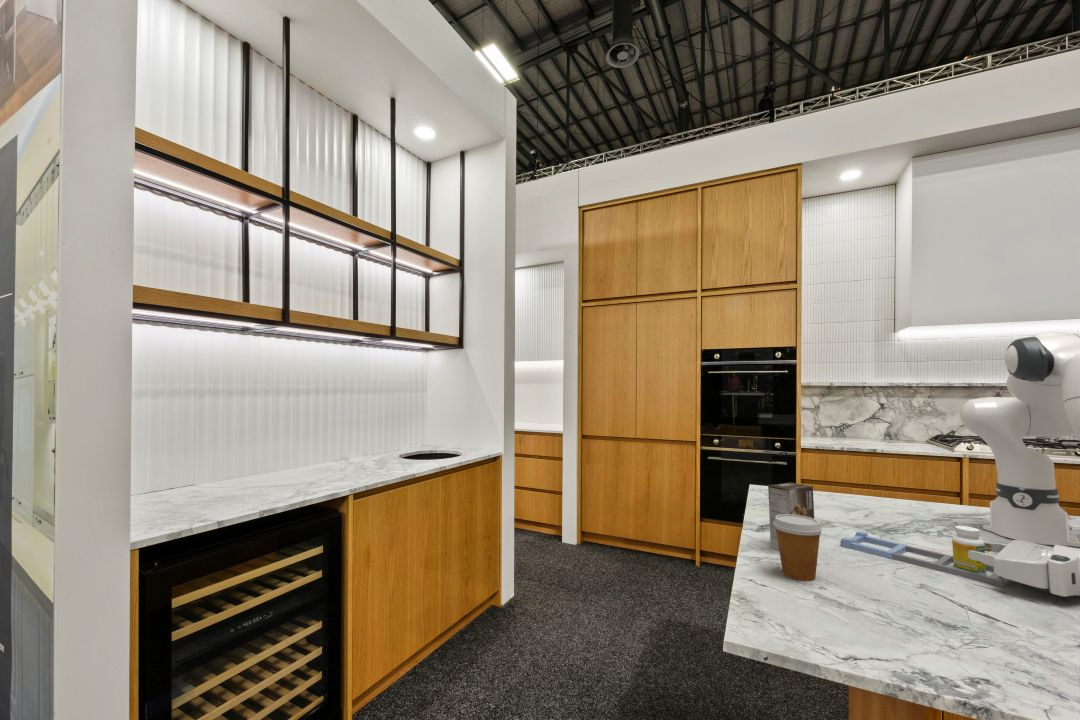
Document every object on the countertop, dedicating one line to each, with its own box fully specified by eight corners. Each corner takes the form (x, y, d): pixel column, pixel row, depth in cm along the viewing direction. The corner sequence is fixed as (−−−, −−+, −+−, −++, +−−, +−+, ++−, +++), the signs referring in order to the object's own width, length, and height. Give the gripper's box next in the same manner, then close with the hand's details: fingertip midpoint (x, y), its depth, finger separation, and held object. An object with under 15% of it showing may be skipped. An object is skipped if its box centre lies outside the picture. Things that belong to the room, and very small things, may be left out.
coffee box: (793, 542, 121) (791, 481, 122) (816, 550, 115) (814, 486, 116) (769, 547, 117) (767, 484, 118) (792, 555, 111) (789, 489, 112)
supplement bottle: (957, 565, 105) (955, 523, 106) (989, 573, 101) (986, 529, 101) (950, 570, 102) (947, 527, 103) (982, 578, 98) (979, 533, 98)
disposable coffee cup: (819, 588, 93) (816, 528, 93) (769, 575, 99) (767, 519, 100) (828, 574, 100) (826, 519, 100) (781, 563, 106) (779, 511, 107)
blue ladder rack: (857, 538, 124) (857, 530, 124) (1013, 574, 100) (1012, 565, 100) (839, 546, 118) (839, 538, 118) (1001, 587, 93) (1000, 577, 94)
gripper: (1074, 543, 96) (985, 527, 107) (1059, 564, 84) (960, 543, 96) (1076, 573, 96) (986, 554, 107) (1062, 599, 84) (962, 574, 95)
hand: (974, 549), depth 101 cm, fingers open, 8 cm apart
